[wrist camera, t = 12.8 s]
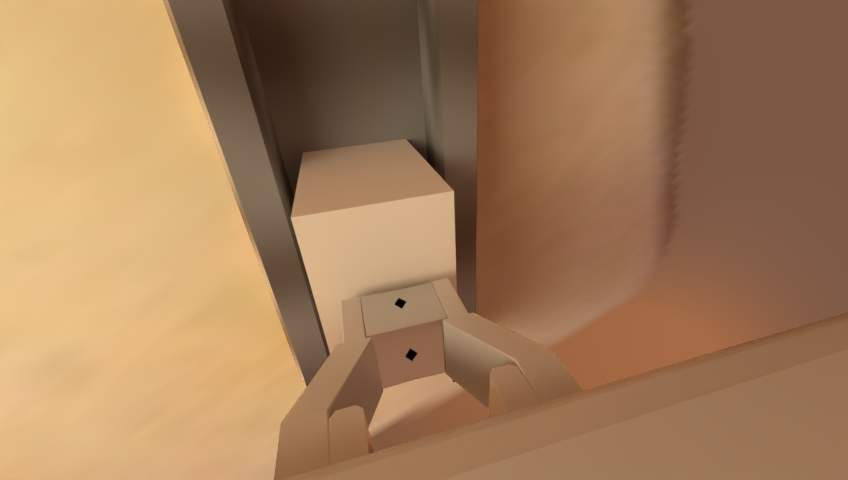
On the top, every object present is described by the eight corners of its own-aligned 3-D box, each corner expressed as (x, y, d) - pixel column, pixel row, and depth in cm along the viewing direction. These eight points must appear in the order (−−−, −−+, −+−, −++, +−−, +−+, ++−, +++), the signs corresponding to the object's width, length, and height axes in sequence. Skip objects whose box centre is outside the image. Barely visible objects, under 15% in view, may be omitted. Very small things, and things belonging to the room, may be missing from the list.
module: (302, 152, 13) (290, 217, 8) (405, 138, 14) (454, 191, 9) (334, 280, 16) (339, 386, 11) (417, 263, 17) (458, 356, 12)
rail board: (159, -55, 11) (75, -109, 7) (458, -63, 13) (514, -108, 9) (303, 360, 20) (299, 430, 17) (464, 322, 22) (493, 377, 19)
